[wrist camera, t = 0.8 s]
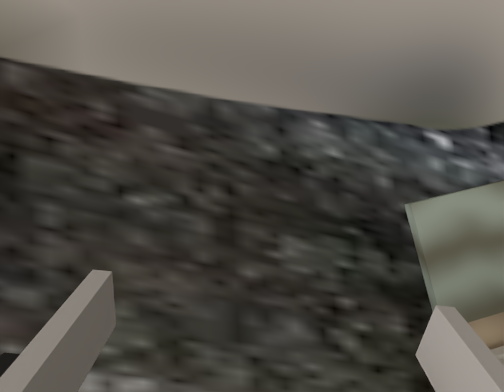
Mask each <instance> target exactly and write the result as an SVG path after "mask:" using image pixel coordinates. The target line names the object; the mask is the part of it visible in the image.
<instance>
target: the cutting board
mask: <svg viewBox="0 0 504 392" xmlns="http://www.w3.org/2000/svg"><path fill="white" fill-rule="evenodd" d="M404 205H405V209H406V213H407V217H408V220H409V224H410V228H411V232H412V236H413V239H414V243H415V247H416V251H417V254H418V258H419V262H420V266H421V269H422V273H423V277H424V281H425V285H426V288H427V292H428V296H429V300H430V303H431V307H432V311H434V309H435V306H436V305H439V306H449V307H455V308H456V310H457V311H458V312H459V313H460V314H461V316H462V317H463V318H464V319H465V320H466V322H467V323H468V324H469V325H470V326H471V327H472V329H473V330H474V331H475V332H476V333H477V335H478V336H479V337H480V338H481V339H482V341H483V342H484V343H485V344H486V345H487V347H488V348H489V349H490V350H491V349H494V348H498V347H501V346H504V180H502V181H498V182H494V183H490V184H486V185H482V186H477V187H473V188H469V189H465V190H461V191H457V192H453V193H449V194H445V195H441V196H437V197H433V198H428V199H424V200H420V201H416V202H412V203H408V204H404Z"/></svg>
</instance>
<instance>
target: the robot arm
mask: <svg viewBox="0 0 504 392" xmlns="http://www.w3.org/2000/svg"><path fill="white" fill-rule="evenodd" d="M115 326H116V319H115V305H114V292H113V278H112V272H110V271H101V270H92V271H91V272H90V274H89V275H88V276H87V277H86V278H85V279H84V281H83V282H82V283H81V284H80V285H79V286H78V287H77V289H76V290H75V291H74V292H73V293H72V294H71V296H70V297H69V298H68V299H67V300H66V301H65V303H64V304H63V305H62V306H61V307H60V308H59V310H58V311H57V312H56V313H55V314H54V315H53V317H52V318H51V319H50V320H49V321H48V322H47V324H46V325H45V326H44V327H43V328H42V329H41V331H40V332H39V333H38V334H37V335H36V336H35V338H34V339H33V340H32V341H31V342H30V343H29V345H28V346H27V347H26V348H25V349H24V350H23V352H22V353H21V354H13V353H3V354H2V355H0V392H78V390H79V388H80V386H81V385H82V383H83V381H84V379H85V378H86V376H87V374H88V373H89V371H90V369H91V367H92V366H93V364H94V362H95V360H96V359H97V357H98V355H99V353H100V352H101V350H102V348H103V346H104V345H105V343H106V341H107V340H108V338H109V336H110V334H111V333H112V331H113V329H114V327H115ZM416 357H417V359H418V361H419V362H420V364H421V366H422V368H423V370H424V371H425V373H426V375H427V377H428V379H429V380H430V382H431V384H432V386H433V388H434V389H435V391H436V392H504V366H503V365H502V363H501V362H500V361H499V360H498V359H497V357H496V356H495V355H494V354H493V353H492V351H491V350H490V349H489V348H488V347H487V345H486V344H485V343H484V342H483V341H482V339H481V338H480V337H479V336H478V335H477V333H476V332H475V331H474V330H473V329H472V327H471V326H470V325H469V324H468V323H467V322H466V320H465V319H464V318H463V317H462V316H461V314H460V313H459V312H458V311H457V310H456V308H455V307H449V306H439V305H436V306H435V309H434V311H433V313H432V316H431V318H430V321H429V323H428V326H427V328H426V330H425V333H424V335H423V338H422V340H421V343H420V345H419V347H418V350H417V352H416Z"/></svg>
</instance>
